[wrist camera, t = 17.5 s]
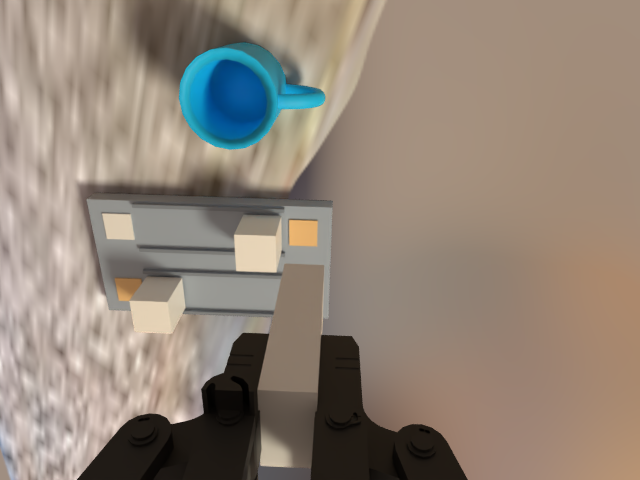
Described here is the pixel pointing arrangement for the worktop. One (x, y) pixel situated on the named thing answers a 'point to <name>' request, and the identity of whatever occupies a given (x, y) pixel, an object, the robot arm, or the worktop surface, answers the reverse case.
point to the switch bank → (203, 248)
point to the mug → (239, 95)
